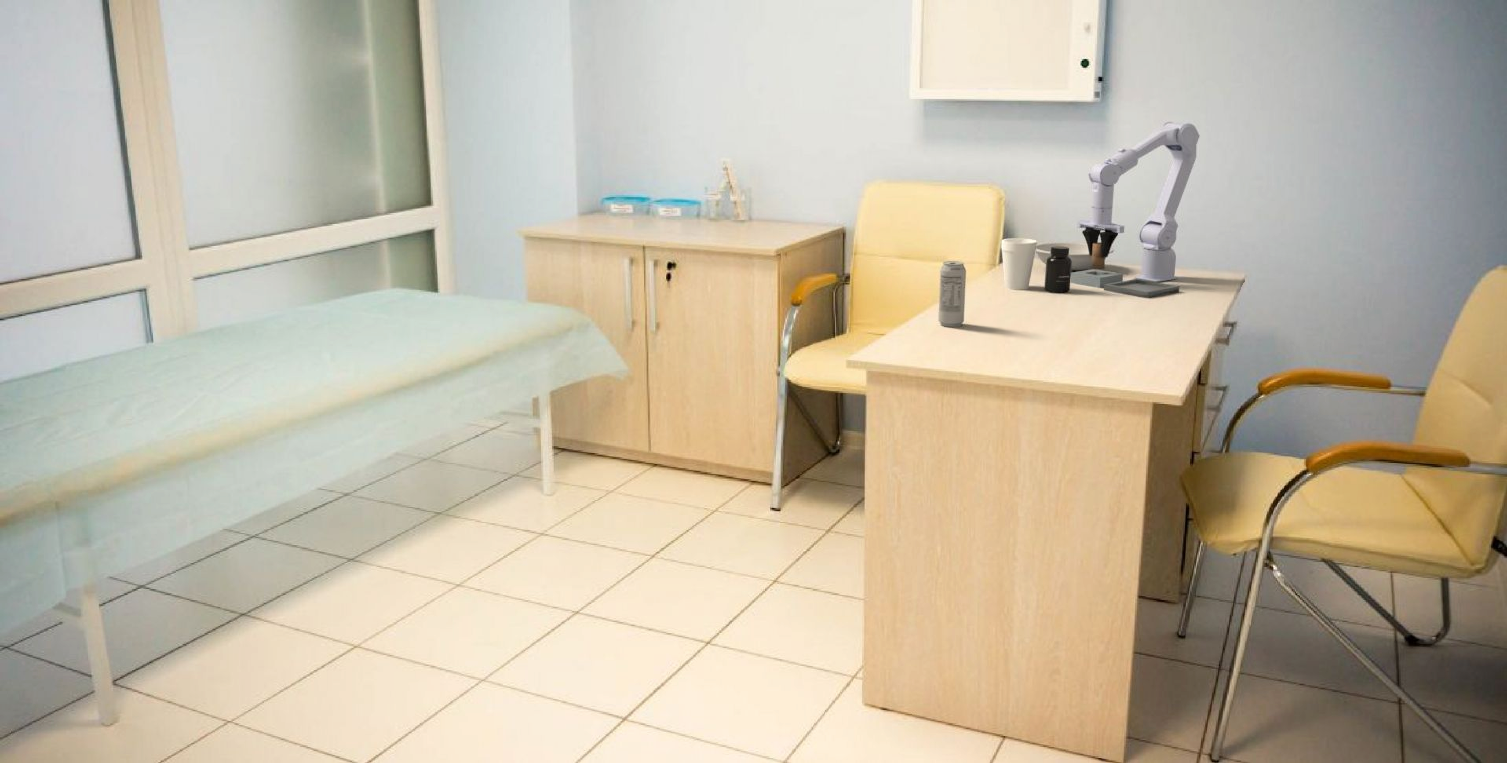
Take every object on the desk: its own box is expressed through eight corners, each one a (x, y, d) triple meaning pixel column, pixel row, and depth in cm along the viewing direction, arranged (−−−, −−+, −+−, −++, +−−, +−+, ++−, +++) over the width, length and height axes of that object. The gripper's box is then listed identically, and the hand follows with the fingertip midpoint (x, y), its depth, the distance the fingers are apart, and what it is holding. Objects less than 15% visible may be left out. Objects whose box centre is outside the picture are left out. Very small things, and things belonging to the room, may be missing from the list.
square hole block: (1093, 278, 357) (1094, 269, 356) (1122, 283, 349) (1123, 273, 348) (1070, 282, 351) (1071, 272, 350) (1099, 287, 343) (1100, 277, 343)
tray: (1135, 284, 348) (1136, 278, 348) (1178, 292, 337) (1179, 286, 337) (1103, 290, 340) (1104, 284, 340) (1146, 298, 329) (1147, 292, 329)
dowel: (1096, 266, 352) (1098, 242, 350) (1107, 268, 349) (1108, 243, 347) (1088, 268, 349) (1089, 243, 348) (1098, 269, 347) (1100, 244, 345)
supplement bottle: (1063, 294, 334) (1066, 250, 331) (1040, 291, 338) (1042, 247, 335) (1074, 290, 340) (1076, 246, 337) (1050, 287, 344) (1053, 244, 341)
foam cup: (1032, 284, 348) (1034, 238, 345) (1036, 291, 339) (1038, 243, 336) (997, 284, 349) (1000, 238, 345) (1000, 290, 340) (1003, 243, 337)
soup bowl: (1013, 266, 378) (1014, 244, 376) (1076, 260, 387) (1078, 239, 386) (1064, 279, 356) (1065, 256, 355) (1129, 273, 366) (1131, 250, 365)
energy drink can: (967, 323, 299) (970, 262, 295) (958, 328, 294) (960, 265, 290) (943, 321, 302) (946, 259, 298) (934, 325, 297) (936, 263, 293)
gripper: (1071, 206, 348) (1068, 254, 352) (1114, 211, 337) (1110, 260, 340) (1087, 204, 352) (1084, 251, 356) (1130, 209, 341) (1126, 258, 344)
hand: (1098, 256), depth 348 cm, fingers closed on dowel, 4 cm apart
